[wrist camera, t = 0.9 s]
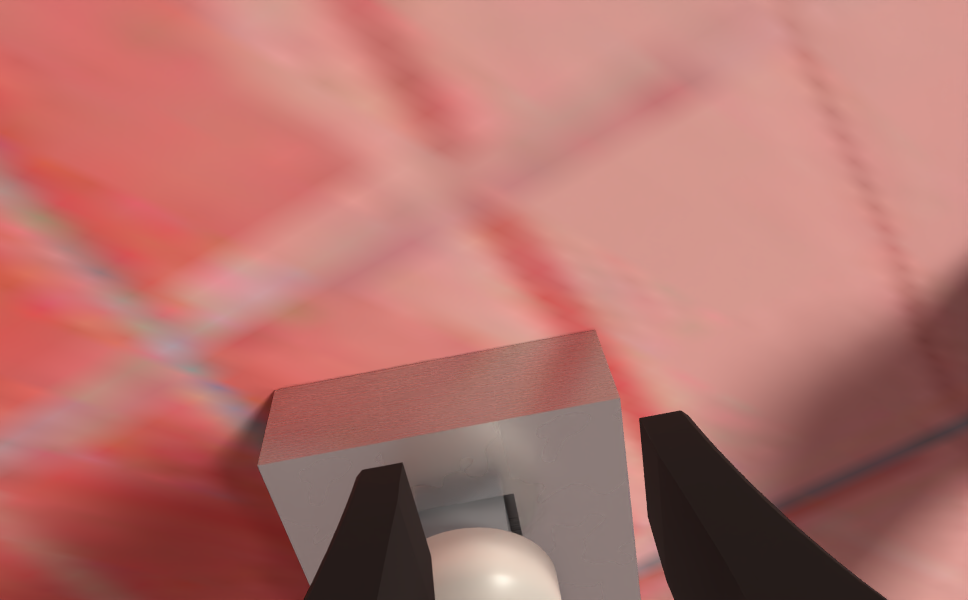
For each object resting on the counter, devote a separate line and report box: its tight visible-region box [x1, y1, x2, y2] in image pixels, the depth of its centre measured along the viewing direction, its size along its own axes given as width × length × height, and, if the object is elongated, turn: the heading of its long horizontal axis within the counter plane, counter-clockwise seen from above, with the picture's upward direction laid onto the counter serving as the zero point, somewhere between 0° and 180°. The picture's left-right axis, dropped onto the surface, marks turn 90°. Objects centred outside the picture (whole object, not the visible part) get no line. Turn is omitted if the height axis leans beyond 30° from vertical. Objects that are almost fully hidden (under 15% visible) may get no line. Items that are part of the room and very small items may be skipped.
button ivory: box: [418, 495, 562, 600], centre depth 21 cm, size 4×4×4 cm
